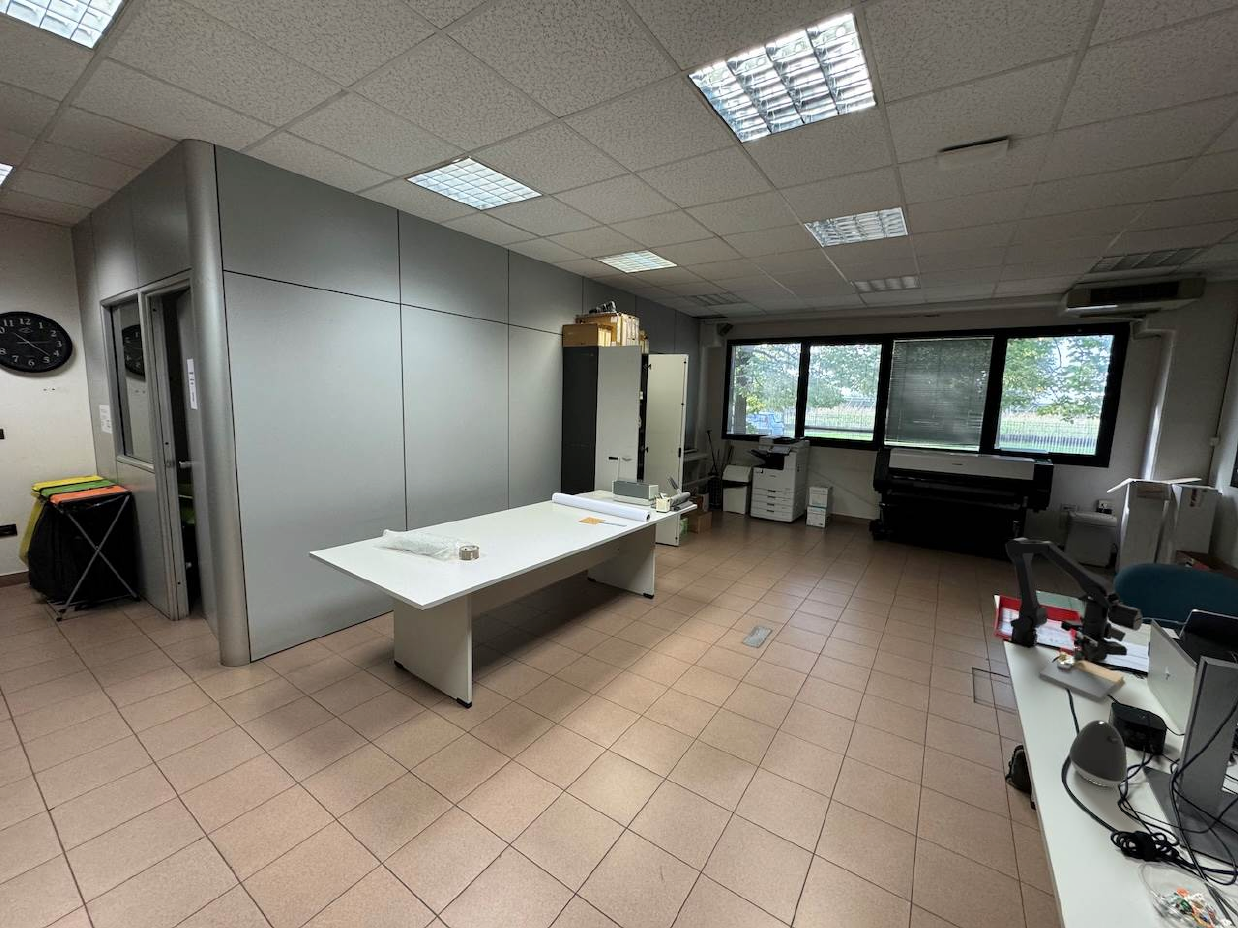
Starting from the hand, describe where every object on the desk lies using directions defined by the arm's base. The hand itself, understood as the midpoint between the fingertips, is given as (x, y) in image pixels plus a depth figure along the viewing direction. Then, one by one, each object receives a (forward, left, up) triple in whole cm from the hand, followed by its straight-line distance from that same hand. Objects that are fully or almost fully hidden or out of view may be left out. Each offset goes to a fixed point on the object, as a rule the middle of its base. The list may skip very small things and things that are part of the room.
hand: (1088, 660), depth 166 cm
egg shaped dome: (+17, -58, -4) cm, 60 cm away
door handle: (-3, -4, -2) cm, 5 cm away
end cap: (-3, +13, -4) cm, 14 cm away
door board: (0, -7, -4) cm, 8 cm away
